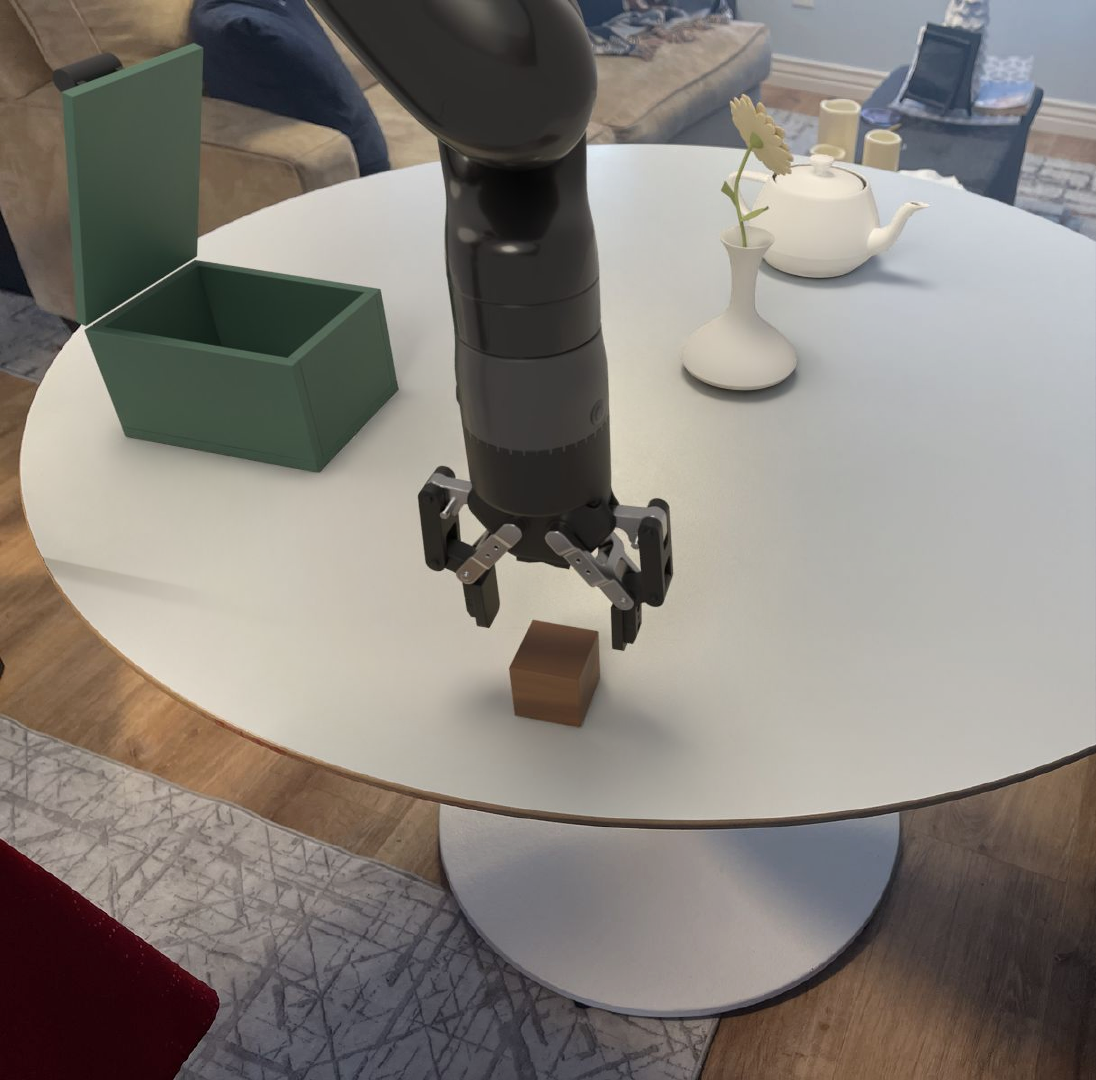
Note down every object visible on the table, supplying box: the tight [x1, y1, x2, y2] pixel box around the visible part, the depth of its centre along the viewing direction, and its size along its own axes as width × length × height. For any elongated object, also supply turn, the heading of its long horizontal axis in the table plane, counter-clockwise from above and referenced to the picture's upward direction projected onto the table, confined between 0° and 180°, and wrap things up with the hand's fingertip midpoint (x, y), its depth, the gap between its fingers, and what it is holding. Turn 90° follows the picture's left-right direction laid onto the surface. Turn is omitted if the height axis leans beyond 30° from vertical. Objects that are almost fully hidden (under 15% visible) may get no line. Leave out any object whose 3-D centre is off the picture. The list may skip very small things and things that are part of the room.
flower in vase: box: [679, 93, 798, 391], centre depth 91 cm, size 13×11×25 cm
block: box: [508, 619, 601, 729], centre depth 63 cm, size 4×4×4 cm
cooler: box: [83, 259, 399, 473], centre depth 86 cm, size 18×14×10 cm
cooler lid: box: [51, 42, 204, 327], centre depth 77 cm, size 19×14×5 cm
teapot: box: [726, 153, 931, 279], centre depth 116 cm, size 25×16×12 cm, turn 61°
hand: (554, 629), depth 61 cm, fingers open, 8 cm apart
